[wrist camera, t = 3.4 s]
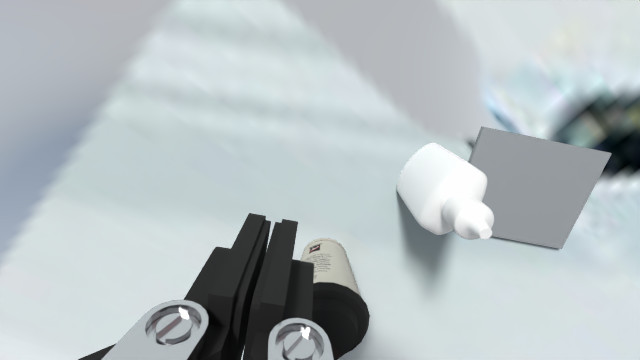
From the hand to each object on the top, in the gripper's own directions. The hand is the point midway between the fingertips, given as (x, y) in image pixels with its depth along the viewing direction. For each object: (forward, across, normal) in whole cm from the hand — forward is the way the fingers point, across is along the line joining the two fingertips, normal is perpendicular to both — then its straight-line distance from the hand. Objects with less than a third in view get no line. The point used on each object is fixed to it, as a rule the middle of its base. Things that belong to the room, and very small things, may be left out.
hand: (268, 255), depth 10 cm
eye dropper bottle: (+18, -12, +1) cm, 22 cm away
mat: (+18, -22, +1) cm, 28 cm away
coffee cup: (+18, -4, +12) cm, 22 cm away
